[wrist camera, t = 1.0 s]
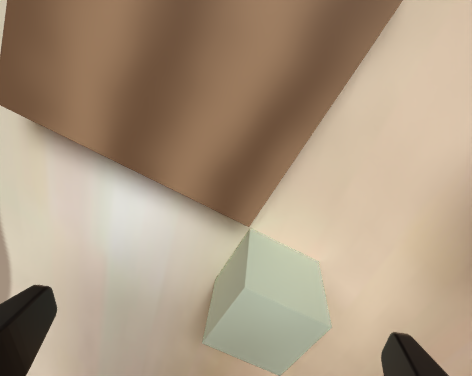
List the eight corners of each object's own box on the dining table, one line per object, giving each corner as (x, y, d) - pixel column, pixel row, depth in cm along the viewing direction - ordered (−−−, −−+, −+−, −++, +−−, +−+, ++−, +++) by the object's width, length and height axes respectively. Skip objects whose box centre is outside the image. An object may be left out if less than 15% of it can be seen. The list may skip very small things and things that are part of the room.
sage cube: (318, 260, 24) (331, 327, 19) (278, 306, 27) (279, 376, 22) (250, 227, 24) (244, 287, 18) (215, 278, 26) (201, 343, 21)
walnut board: (413, -47, 15) (443, -61, 12) (251, 202, 22) (248, 227, 20) (95, -266, 13) (49, -341, 10) (30, 91, 20) (-6, 102, 17)
